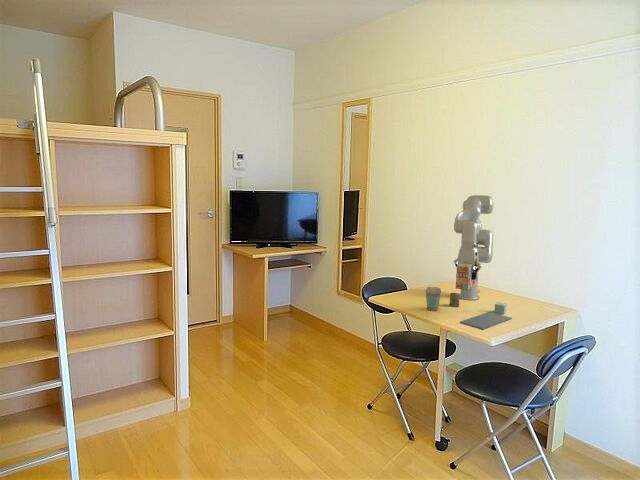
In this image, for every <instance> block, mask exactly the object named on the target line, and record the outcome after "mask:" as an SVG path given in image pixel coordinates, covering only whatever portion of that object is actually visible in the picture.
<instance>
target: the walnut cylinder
mask: <svg viewBox="0 0 640 480" xmlns="http://www.w3.org/2000/svg"><path fill="white" fill-rule="evenodd" d="M459 294H460V293H459V292H450V294H449V296H450V297H449V306H450V307H451V306H452V308H458V307H459V306H460V298H459Z"/></svg>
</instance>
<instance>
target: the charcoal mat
mask: <svg viewBox="0 0 640 480" xmlns="http://www.w3.org/2000/svg"><path fill="white" fill-rule="evenodd" d="M512 319H513V317H510V316H507V315H503V314H498V313H494V312H493V311H492V312H491V311H487V312H484V313H482V314H479V315H476V316H472V317H470V318H467V319H463V320H461V321H459V323H460V324H463V325H467V326H470V327H472V328H476V329H480V330H483V331H484V330H486V329H488V328H492V327H494V326H496V325H500V324H502V323H505V322H508V321H510V320H512Z"/></svg>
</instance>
